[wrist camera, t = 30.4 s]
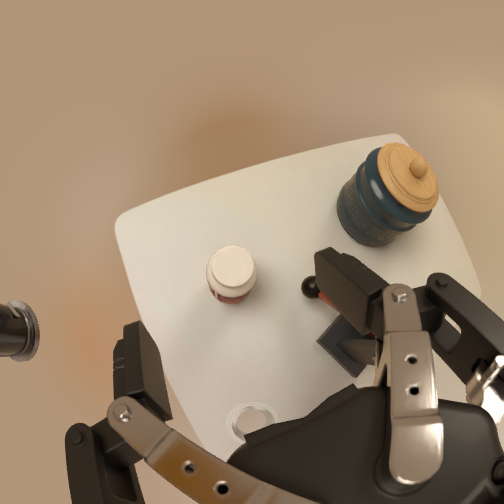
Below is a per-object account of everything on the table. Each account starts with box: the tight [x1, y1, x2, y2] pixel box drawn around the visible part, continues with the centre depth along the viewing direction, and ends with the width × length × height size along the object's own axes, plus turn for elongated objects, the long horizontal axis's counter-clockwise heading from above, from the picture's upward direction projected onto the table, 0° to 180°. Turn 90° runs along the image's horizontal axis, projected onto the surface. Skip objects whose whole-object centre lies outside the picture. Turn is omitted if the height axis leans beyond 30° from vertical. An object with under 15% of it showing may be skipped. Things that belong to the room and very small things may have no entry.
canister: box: [337, 143, 439, 246], centre depth 38 cm, size 13×13×18 cm
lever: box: [301, 276, 375, 337], centre depth 33 cm, size 16×3×3 cm
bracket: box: [317, 313, 375, 378], centre depth 34 cm, size 9×8×13 cm
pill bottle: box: [206, 245, 258, 304], centre depth 35 cm, size 6×6×11 cm
